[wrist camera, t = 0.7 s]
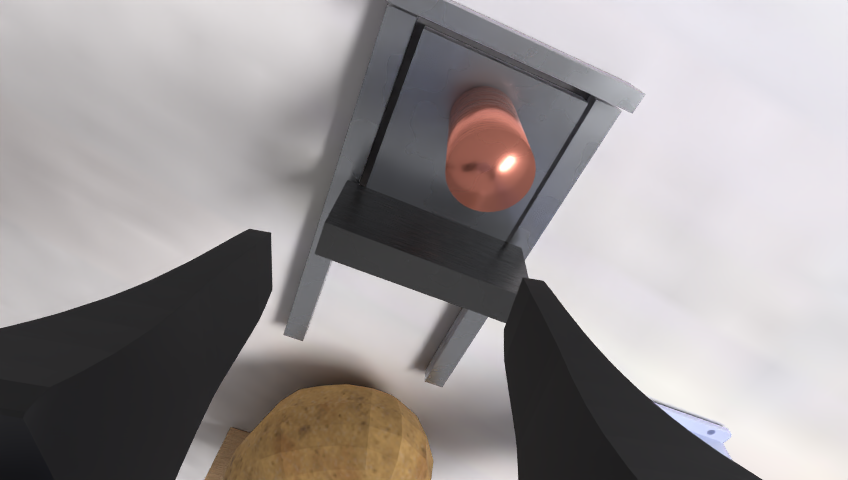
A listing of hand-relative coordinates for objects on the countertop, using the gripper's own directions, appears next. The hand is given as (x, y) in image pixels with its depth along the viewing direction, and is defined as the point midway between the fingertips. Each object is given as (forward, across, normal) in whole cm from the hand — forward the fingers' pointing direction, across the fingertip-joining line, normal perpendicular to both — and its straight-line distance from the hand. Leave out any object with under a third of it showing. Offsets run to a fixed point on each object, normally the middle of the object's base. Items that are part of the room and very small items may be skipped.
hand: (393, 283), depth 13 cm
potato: (+10, +2, +19) cm, 22 cm away
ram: (+10, -2, -1) cm, 10 cm away
